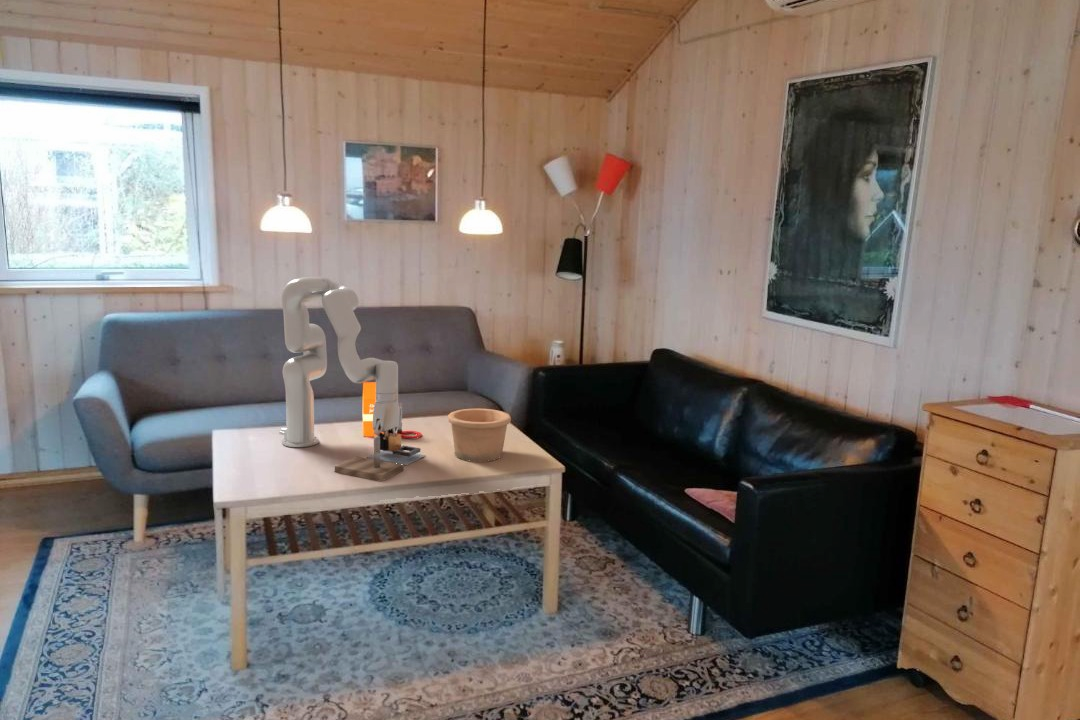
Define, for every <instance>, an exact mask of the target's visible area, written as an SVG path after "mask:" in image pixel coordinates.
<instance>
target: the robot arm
mask: <svg viewBox="0 0 1080 720" xmlns="http://www.w3.org/2000/svg"><path fill="white" fill-rule="evenodd" d="M319 301H321V305H322V307H323V309H324V312H325V313H326V315H327V318H328V320H329V322H330V324H331V325H332V327H333V330H334V332H335V334H336V336H337V357H338V360H339V363H340V365H341V368H342V369H343V371H344V373H345V375H346V377H348V379H349V380H350V381H351V382H352V383H355V384H363V383H367V382H369V381H373V380H375V382H376V402H375V404H374V410H373V430H374V434H375V435H377V436H380V451H382V450H384V451H387V450H388V439H386V437H387V432H388V433H394V434H397V429H398V426H399V408H400V403H399V364H398V363H397V362H396V361H394V360H383V359H380V358H376V357H367V358H364V359H363V358H362V359H361V358H360V356H359V354H358V352H357V348H356V341H357V338H358V335H359V333H360V332H361V330H362V326H361V324H360V322H359V320H358V318H357V316H356V314H355V312H354V311H355V310H357V308H358V306H359V297H358V294H357V293H356V291H354V290H353V289H351V288H350V287H349V286H347V285H343V284H341V283H339V282H337V281H335V280H333V279H331V278H329V277H326V276H310V277H309V276H306V277H305V276H304V277H299V278H295V279H293V280H291V281H289V282H287V284H286V285H284V288H283V289H282V291H281V307H282V312H283V330H284V344H285V346H286V349H287V350H288V351H289V352H291V353H295V354H297V353H298V354H300V353H302V355H298V356H294V357H291V358H289V359H288V360H286V361H285V363H284V364H283V367H282V377H283V383H284V388H285V389H284V390H285V415H286V418H285V420H286V421H285V423H286V428H285V427H282V428H281V430H280V431H278V434H279V435H280V436H284V438H283V439H282V440H281V443H282V445H283V446H285V447H290V448H305V447H306V448H307V447H312V446H315V445H317V444H318V443H319V438H318V437H317V436H315V398H314V395H315V394H314V390H313V387H312V384H311V381H313V380H317V379H320V378H321V377H323V376H324V375H325V374H326V371H327V367H328V356H327V355H328V354H327V353H328V352H327V340H326V339H327V338H326V335H325V331H324V330H323V328H322V327H321V326H319V325H318V324H315V323H310V313H309V310H308V307H307V306H306V305H305V304H306V303H310V302H319ZM381 428H382V430H381ZM381 432H384V435H383V434H382V433H381Z"/></svg>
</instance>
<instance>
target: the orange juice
mask: <svg viewBox="0 0 1080 720" xmlns="http://www.w3.org/2000/svg"><path fill="white" fill-rule="evenodd" d="M375 402H376V381H374V382H369V381H368V382H363V383H362V437H363V436H366V437H374V436H377V435H375V434H374V430H373V410H374V404H375ZM381 430H382V428H381ZM381 433H382V432H381Z"/></svg>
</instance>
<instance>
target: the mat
mask: <svg viewBox="0 0 1080 720" xmlns="http://www.w3.org/2000/svg"><path fill="white" fill-rule="evenodd" d="M424 456H425V457H426V454H419V453H416V454H414V455H412V456H410V457H408V456H402V455H397V454H393V452H389V451H384V450H380V461H385V462H390V463H397V464H403V466H405V465H407V464H409V463H411V462H413V463H415V462H417V461H419V460H421V459H423V458H425V457H424ZM422 457H423V458H422ZM366 458H369V459H374V453H373V454H371V455H369V456H366ZM420 458H421V459H420ZM418 459H419V460H418ZM416 460H417V461H416ZM414 461H415V462H414ZM411 464H412V463H411ZM409 465H410V464H409ZM407 466H408V465H407Z"/></svg>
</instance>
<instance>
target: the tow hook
mask: <svg viewBox="0 0 1080 720" xmlns="http://www.w3.org/2000/svg"><path fill="white" fill-rule="evenodd" d="M402 420H403V402H400V403H399V426H398V428H397V430H396V434H400V435H401V438H402V437H403V439H407V438H417V437H420V438H422V437H421V436H423V435H422V432H419V431H416V430H403V422H402ZM408 433H414V434H413V435H407V434H408ZM416 434H417V435H416ZM417 439H418V438H417Z"/></svg>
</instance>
